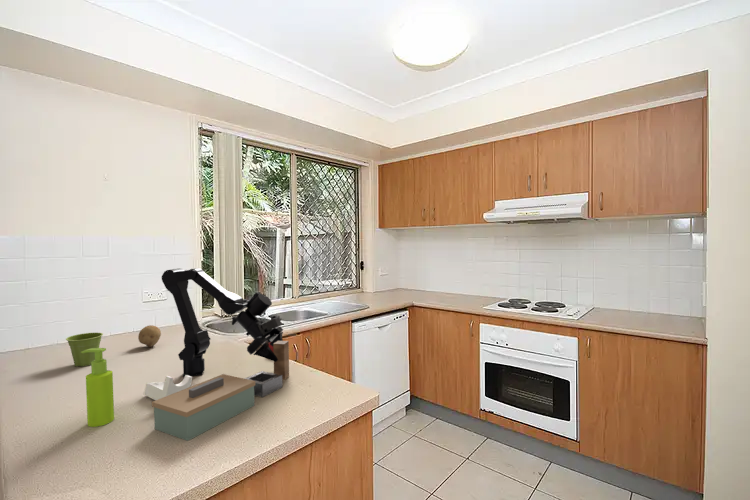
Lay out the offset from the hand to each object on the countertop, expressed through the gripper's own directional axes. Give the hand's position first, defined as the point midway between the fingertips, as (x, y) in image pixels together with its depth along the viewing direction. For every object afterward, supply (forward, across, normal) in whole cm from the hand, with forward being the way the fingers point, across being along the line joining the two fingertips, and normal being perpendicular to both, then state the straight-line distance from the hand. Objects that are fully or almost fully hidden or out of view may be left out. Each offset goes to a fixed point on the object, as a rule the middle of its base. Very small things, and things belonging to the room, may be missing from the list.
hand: (282, 356), depth 136 cm
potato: (-48, +30, +60) cm, 82 cm away
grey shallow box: (+4, -11, +7) cm, 14 cm away
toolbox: (-1, -29, +11) cm, 31 cm away
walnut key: (+5, 0, +6) cm, 7 cm away
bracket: (-15, -20, +26) cm, 37 cm away
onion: (-4, +25, +15) cm, 29 cm away
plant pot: (-54, +5, +66) cm, 85 cm away
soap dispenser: (-21, -38, +32) cm, 53 cm away
